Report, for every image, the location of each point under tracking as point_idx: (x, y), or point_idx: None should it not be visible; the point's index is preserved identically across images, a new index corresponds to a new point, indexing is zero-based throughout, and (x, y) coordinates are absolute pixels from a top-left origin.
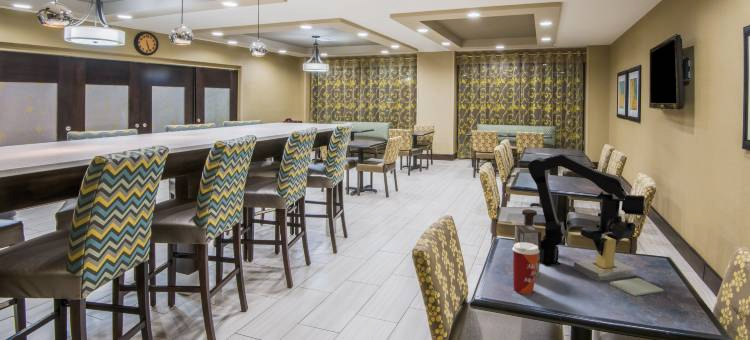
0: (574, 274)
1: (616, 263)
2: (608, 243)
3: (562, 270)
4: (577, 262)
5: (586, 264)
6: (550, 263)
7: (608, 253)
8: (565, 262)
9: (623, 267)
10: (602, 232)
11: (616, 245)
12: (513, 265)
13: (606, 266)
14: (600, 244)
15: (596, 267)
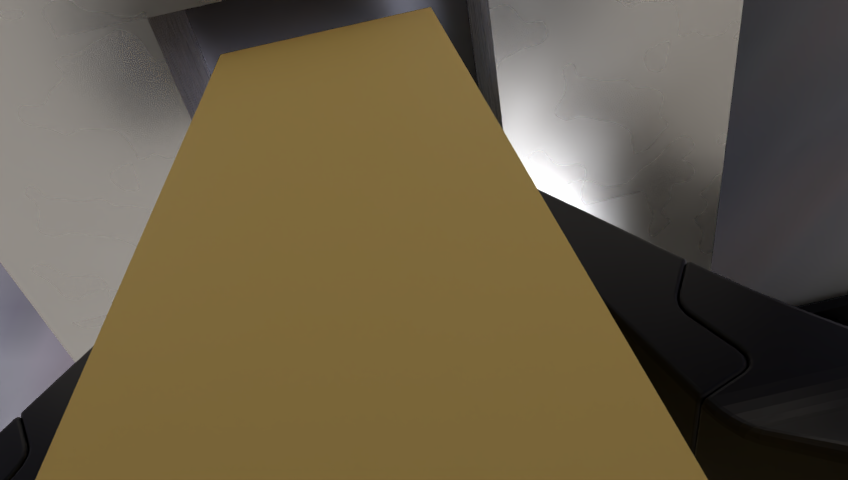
0: (813, 34)
1: (92, 201)
2: (519, 374)
3: (834, 170)
4: (685, 250)
5: (618, 180)
6: (833, 319)
7: (396, 147)
8: None
9: (20, 2)
10: None
11: (10, 429)
12: None
13: (388, 27)
14: (830, 339)
15: (557, 46)
